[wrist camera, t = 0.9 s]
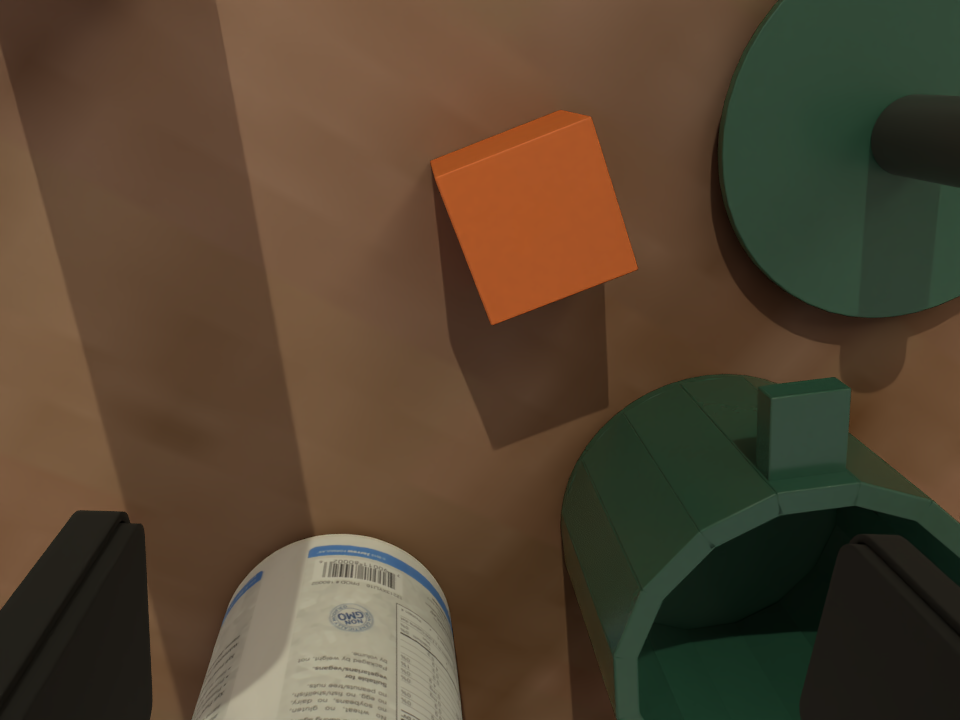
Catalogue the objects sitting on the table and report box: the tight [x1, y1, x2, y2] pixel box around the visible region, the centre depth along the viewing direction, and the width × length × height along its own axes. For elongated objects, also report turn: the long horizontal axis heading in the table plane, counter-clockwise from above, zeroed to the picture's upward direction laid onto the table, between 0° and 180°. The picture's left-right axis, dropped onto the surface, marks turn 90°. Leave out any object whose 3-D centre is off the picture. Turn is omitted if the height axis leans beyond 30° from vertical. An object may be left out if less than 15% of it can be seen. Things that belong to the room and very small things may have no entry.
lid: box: [718, 0, 960, 318], centre depth 27 cm, size 14×14×7 cm
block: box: [430, 110, 638, 325], centre depth 27 cm, size 5×5×5 cm
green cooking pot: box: [561, 374, 960, 720], centre depth 30 cm, size 13×18×10 cm
